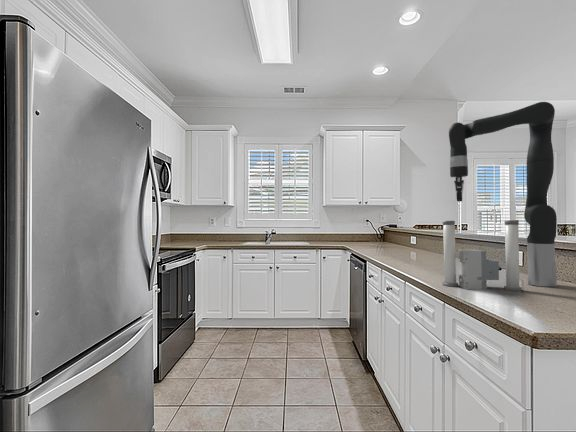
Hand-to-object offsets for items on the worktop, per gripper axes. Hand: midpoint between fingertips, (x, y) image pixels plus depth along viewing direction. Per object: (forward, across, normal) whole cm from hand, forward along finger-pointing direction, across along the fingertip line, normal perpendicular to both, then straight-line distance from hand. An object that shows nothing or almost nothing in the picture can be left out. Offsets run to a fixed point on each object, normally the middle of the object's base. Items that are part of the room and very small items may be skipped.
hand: (459, 201), depth 163 cm
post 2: (+36, -21, -18) cm, 46 cm away
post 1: (+36, -21, +4) cm, 42 cm away
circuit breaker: (+36, -21, -8) cm, 43 cm away
